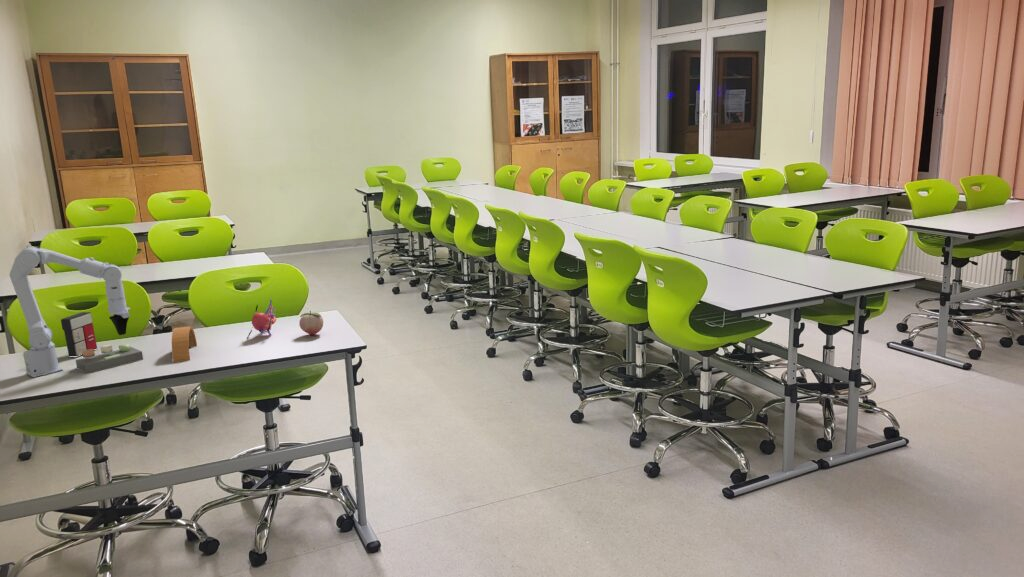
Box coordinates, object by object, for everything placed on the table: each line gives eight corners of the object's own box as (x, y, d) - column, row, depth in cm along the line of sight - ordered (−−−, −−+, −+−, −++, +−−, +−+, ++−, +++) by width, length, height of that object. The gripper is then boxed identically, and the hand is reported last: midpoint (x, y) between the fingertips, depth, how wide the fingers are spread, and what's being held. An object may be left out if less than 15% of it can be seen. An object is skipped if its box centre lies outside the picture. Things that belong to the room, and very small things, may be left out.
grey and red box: (77, 358, 275) (70, 319, 272) (67, 357, 276) (60, 319, 273) (98, 349, 286) (92, 311, 283) (89, 349, 287) (82, 311, 284)
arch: (172, 362, 264) (168, 335, 262) (181, 347, 283) (177, 322, 281) (190, 360, 265) (186, 333, 263) (197, 345, 284) (194, 320, 282)
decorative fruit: (328, 331, 294) (325, 307, 292) (320, 337, 286) (318, 312, 284) (305, 332, 295) (303, 308, 293) (297, 338, 287) (294, 313, 285)
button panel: (86, 373, 256) (84, 364, 255) (77, 368, 263) (75, 359, 262) (143, 359, 269) (141, 350, 269) (132, 354, 276) (131, 346, 275)
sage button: (121, 352, 268) (120, 347, 268) (118, 350, 270) (117, 345, 270) (132, 350, 271) (131, 344, 270) (128, 348, 273) (127, 343, 273)
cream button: (103, 353, 264) (102, 348, 263) (99, 352, 266) (99, 346, 266) (114, 351, 266) (113, 346, 266) (110, 349, 269) (109, 344, 268)
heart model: (243, 344, 286) (253, 322, 304) (269, 348, 288) (277, 326, 306) (248, 305, 280) (258, 285, 298) (275, 310, 282) (283, 289, 300)
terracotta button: (85, 358, 259) (84, 352, 259) (81, 356, 262) (80, 351, 261) (96, 355, 262) (95, 350, 261) (92, 353, 264) (91, 348, 264)
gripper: (135, 298, 264) (141, 334, 267) (120, 293, 274) (126, 328, 277) (114, 302, 259) (120, 339, 262) (100, 297, 269) (106, 333, 272)
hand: (122, 334), depth 269 cm, fingers closed
